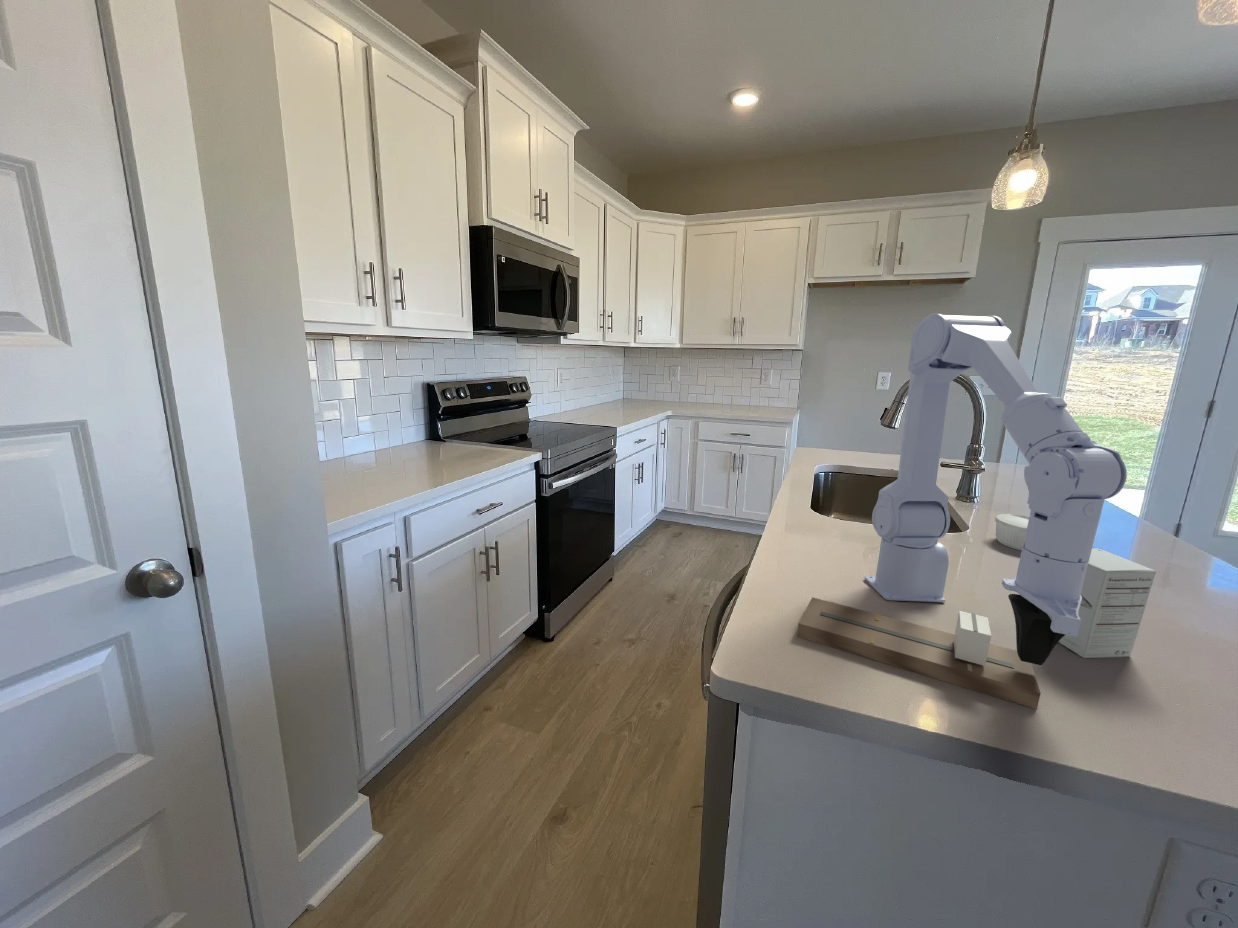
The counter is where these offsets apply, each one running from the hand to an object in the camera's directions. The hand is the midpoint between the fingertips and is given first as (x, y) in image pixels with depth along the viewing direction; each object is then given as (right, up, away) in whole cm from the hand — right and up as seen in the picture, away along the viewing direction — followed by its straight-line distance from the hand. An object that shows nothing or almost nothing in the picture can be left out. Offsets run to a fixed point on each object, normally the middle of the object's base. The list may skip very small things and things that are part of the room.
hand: (1029, 660), depth 60 cm
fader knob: (-5, -1, +3) cm, 6 cm away
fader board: (-11, -2, +7) cm, 13 cm away
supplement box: (+16, -2, +10) cm, 19 cm away
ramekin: (+37, +6, +47) cm, 60 cm away
